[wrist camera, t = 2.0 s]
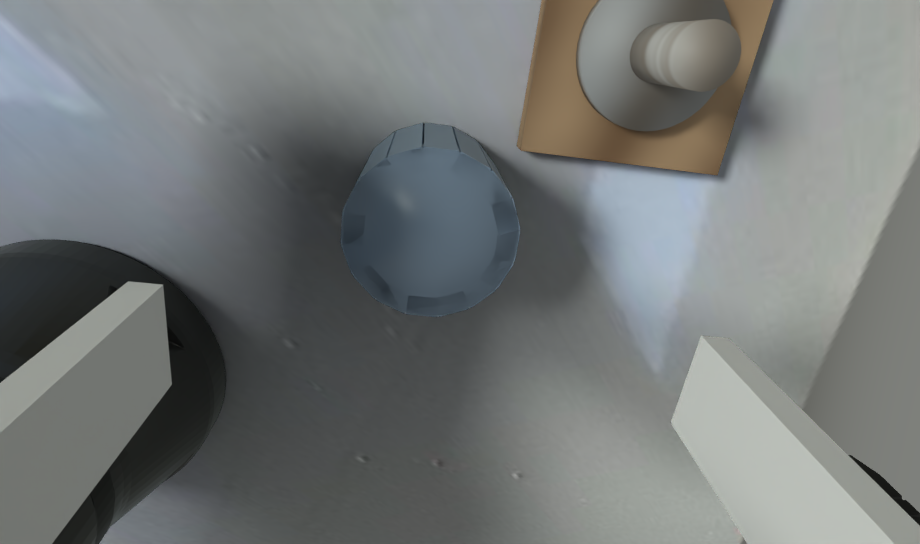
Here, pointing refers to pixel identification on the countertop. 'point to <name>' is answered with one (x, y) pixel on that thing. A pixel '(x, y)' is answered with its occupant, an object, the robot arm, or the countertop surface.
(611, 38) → the wooden square stand
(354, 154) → the countertop surface
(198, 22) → the countertop surface
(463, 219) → the cap
